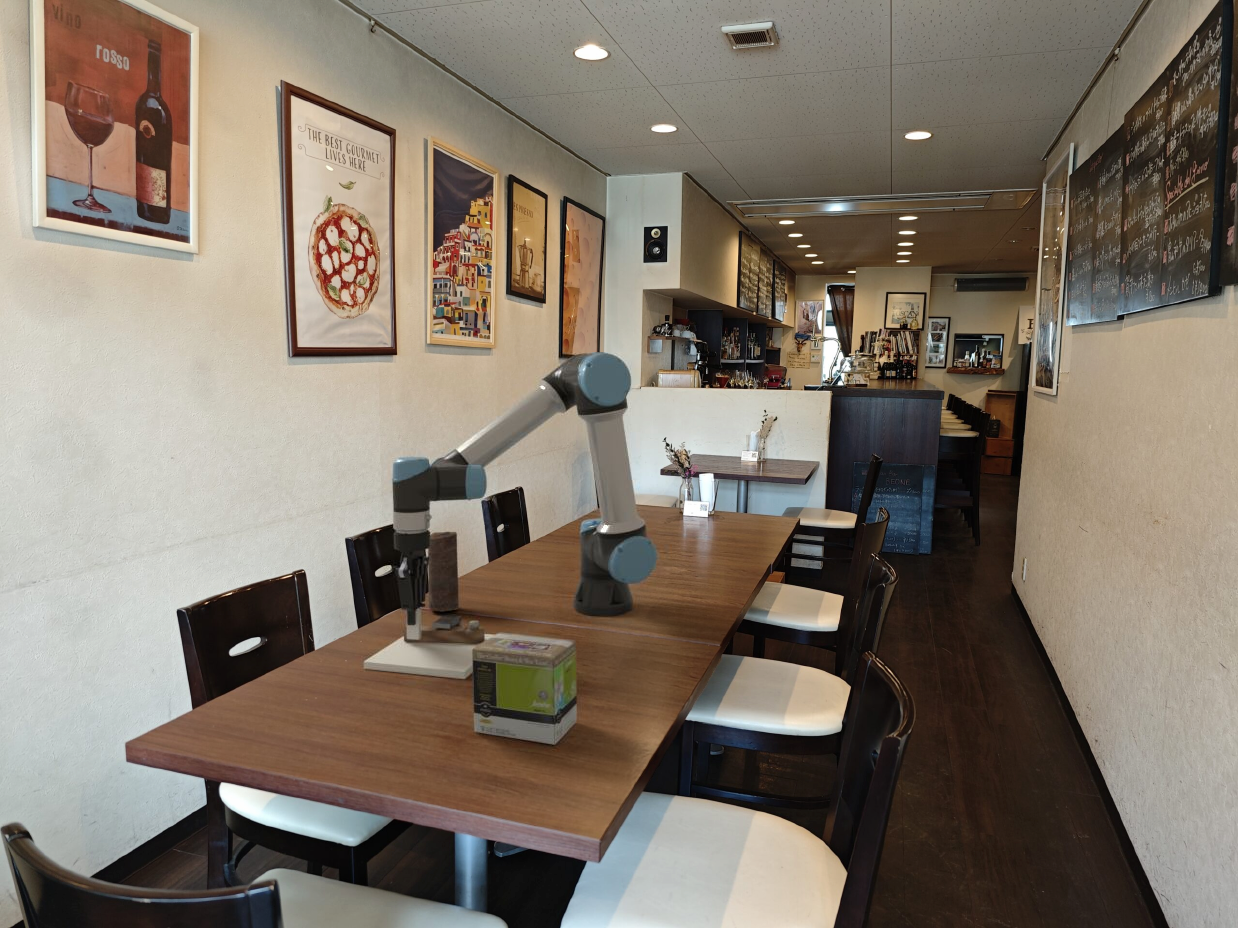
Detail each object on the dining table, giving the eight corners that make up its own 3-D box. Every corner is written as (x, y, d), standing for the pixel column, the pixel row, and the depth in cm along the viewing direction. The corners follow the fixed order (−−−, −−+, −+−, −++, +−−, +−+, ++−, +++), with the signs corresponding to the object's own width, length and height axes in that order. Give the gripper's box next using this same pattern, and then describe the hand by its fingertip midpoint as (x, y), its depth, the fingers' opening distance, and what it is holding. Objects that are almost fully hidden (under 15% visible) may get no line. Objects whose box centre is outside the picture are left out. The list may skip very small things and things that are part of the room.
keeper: (461, 634, 177) (461, 616, 177) (450, 642, 172) (449, 624, 171) (445, 633, 178) (444, 614, 178) (433, 641, 173) (432, 622, 172)
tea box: (578, 721, 137) (578, 638, 135) (554, 747, 128) (554, 658, 126) (500, 709, 142) (498, 629, 140) (471, 733, 132) (470, 647, 131)
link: (486, 636, 175) (486, 618, 175) (482, 643, 171) (482, 625, 170) (409, 635, 176) (408, 617, 175) (402, 642, 171) (402, 623, 171)
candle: (451, 616, 195) (449, 536, 193) (423, 614, 197) (421, 535, 195) (463, 607, 203) (462, 530, 201) (436, 605, 204) (434, 529, 202)
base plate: (506, 642, 177) (506, 635, 177) (464, 679, 156) (464, 671, 155) (416, 634, 182) (416, 627, 182) (363, 668, 161) (363, 661, 161)
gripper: (416, 536, 162) (418, 649, 164) (440, 525, 174) (441, 629, 177) (381, 535, 163) (384, 647, 165) (407, 524, 176) (409, 628, 178)
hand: (414, 638), depth 171 cm, fingers closed
